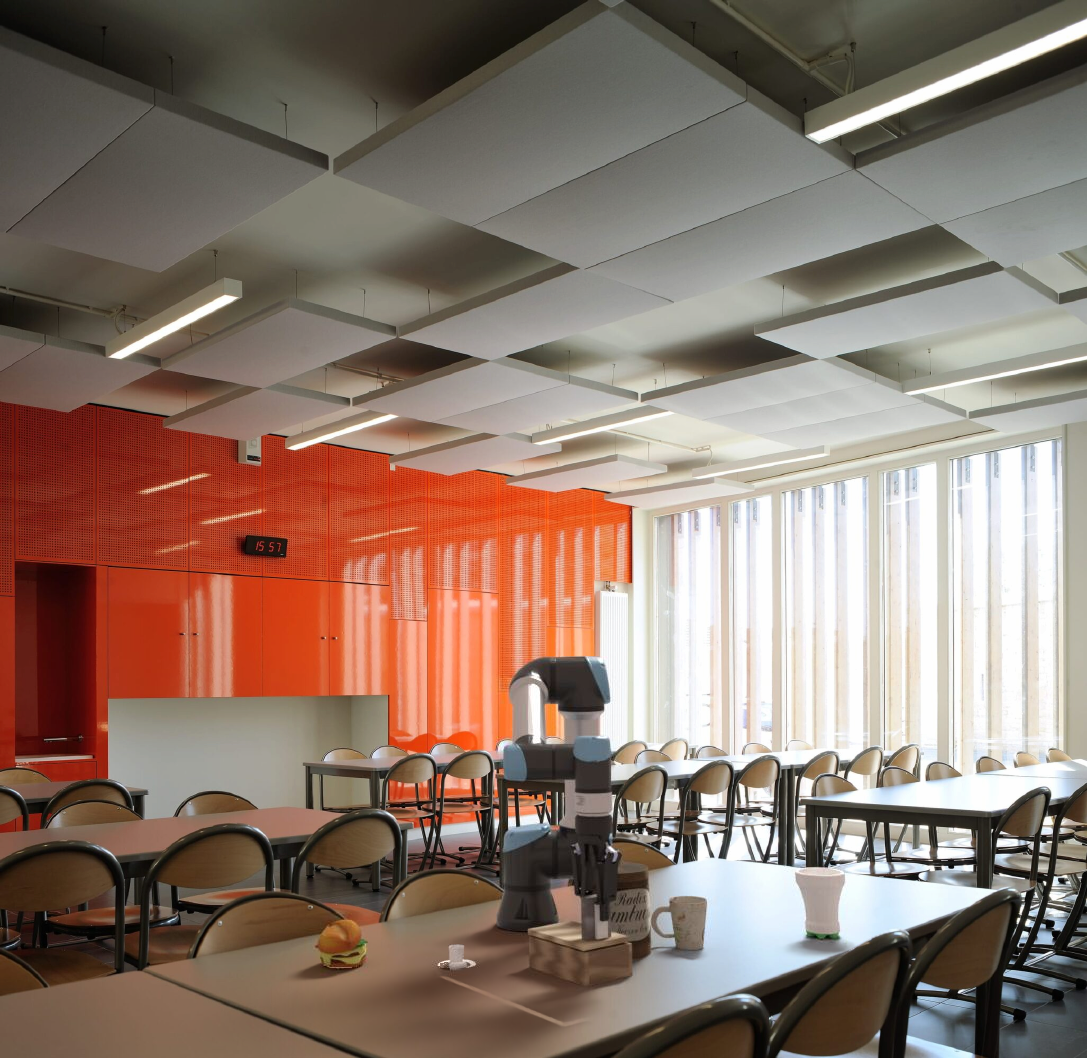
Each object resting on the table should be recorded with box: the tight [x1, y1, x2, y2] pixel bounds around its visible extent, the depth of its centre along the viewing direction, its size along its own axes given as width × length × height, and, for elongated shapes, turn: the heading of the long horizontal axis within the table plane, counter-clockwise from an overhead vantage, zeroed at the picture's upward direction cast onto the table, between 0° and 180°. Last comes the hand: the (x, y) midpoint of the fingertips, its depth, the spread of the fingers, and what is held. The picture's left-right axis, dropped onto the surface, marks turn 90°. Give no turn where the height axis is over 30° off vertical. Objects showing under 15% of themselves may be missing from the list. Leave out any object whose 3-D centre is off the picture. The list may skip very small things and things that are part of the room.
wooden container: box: [593, 847, 652, 960], centre depth 221 cm, size 15×15×22 cm
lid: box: [527, 894, 629, 951], centre depth 206 cm, size 18×12×9 cm, turn 38°
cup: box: [794, 866, 846, 940], centre depth 234 cm, size 11×11×14 cm
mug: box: [650, 895, 708, 951], centre depth 226 cm, size 8×13×10 cm, turn 78°
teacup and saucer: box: [437, 944, 477, 971], centre depth 212 cm, size 9×8×4 cm
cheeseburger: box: [314, 919, 369, 968], centre depth 213 cm, size 10×11×10 cm
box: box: [528, 935, 634, 987], centre depth 204 cm, size 18×12×6 cm, turn 38°
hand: (596, 936), depth 201 cm, fingers open, 3 cm apart
